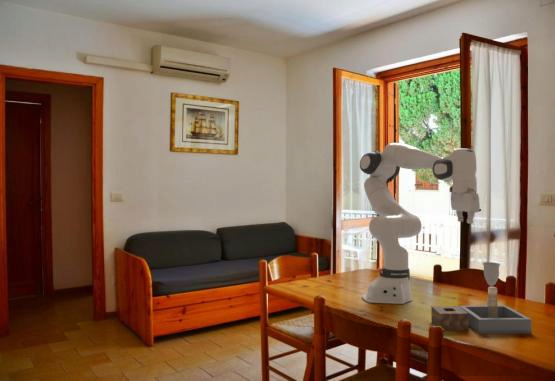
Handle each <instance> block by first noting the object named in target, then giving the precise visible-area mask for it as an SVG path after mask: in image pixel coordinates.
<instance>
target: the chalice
mask: <svg viewBox="0 0 555 381" xmlns="http://www.w3.org/2000/svg"><path fill="white" fill-rule="evenodd" d="M482 265H483V275H484V279H485V281H486V283H487V285H489V287H494V286H495V285H496V283H497V282H498V280H499V277H500V266H501V263H499V262H492V261H491V262H490V261H489V262H487V261H486V262H485V261H484V262H482ZM484 306H488V299H487V300H486V303H485V304H484ZM497 306H499V304H497Z"/></svg>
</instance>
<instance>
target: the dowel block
mask: <svg viewBox="0 0 555 381" xmlns="http://www.w3.org/2000/svg"><path fill="white" fill-rule="evenodd" d="M459 306H460V305H431V309H430V311H431V323H432V324H433V325H434V324H435V325H437V326H441V327H442V328H443V329H444V330H443V331H469V328H470V326H469V317H468V313H467V312H466V311H464V310H463V309H461V308H460V307H459ZM435 325H434V326H435Z"/></svg>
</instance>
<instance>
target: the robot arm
mask: <svg viewBox="0 0 555 381" xmlns="http://www.w3.org/2000/svg"><path fill="white" fill-rule="evenodd" d="M359 168H360V170H361V171H362V172H363V173H364V174H366V175H369V177H367V178H366V179H365V181H364V183H363V187H364V192H365V194H366V197H367V200H368V202H369V204H370V205H371V207H372V210H373V211H374V213H375V214H377V215H378V216H375V217H372V218H371V220H370V221H369V225H368V230H369V232H370V235H371V236H372V237H373V238H375V239H376V241H378V243H379V245H380V247H381V251H382V255H383V257H382V258H383V267H382V268H381V267H377V269H376V271H377V272H378V274H379V275H378V276H377V277H376V278H375V279H374V280H372V281H371V282H370V283H369V284H368V286H367V291H366V293H363V294H362V300H363V301H365V302H366V303H373V304H375V303H376V304H395V305H397V304H398V305H403V304H406V303H409V302H412V301H413V295H412V292H411V285H410V278H411V270H410V268H409V252H408V250H407V249H406V248H404V247H403V246H401V245H400V242H399V239H403V238H405V239H406V238H412V237H415V236H417V235H419V234H420V233H421V231H422V222H421V220H420V218H419V217H418V216H417V215H415V214H413V213H411V212H409V211H407V210H406V209H405V208H404V207H402V206H401V205H400V204H399V203H398V202H397V200H396V199H395V198H394V195H393V194H392V192H391V190H390V189H389V187H388V184H389V183H392V181H393V180H395V179H396V178H397V177H398V175H399V174H400V171H401V170H400V169H406V170H421V169H422V170H423V169H424V170H425V169H428V170H429V169H430V170H431V169H432V174H433V177H434V178H436V179H437V180H440V181H452V185H450V187H449V189H448V190H449V191H448V192H449V193H450V206H451V210H453V211H456V212H455V213H456V217H457V222H461V223H463V222H464V216H463V212H466V213H467V219H466V223H467V224H473V223H474V221H473V220H474V217H475V213H479V212H480V209H481V208H480V207H481V206H480V205H481V204H480V197H479V193H477V191H478V190H477V188H478V186H477V183H478V182H477V176H476V172H477V157H476V153H475V151H474V150H473V149H471V148H461V147H457V148H455V149H453V150H452V152H451V153H449V154H447V155H445V156H441V155H436V154H433V153H430V152H428V151H426V150H423V149H420V148H418V147H416V146H415V147H414V146H412V145H409V144H406V143H399V142H391V143H388V144H387V145H386V146H384V148H383V151H381V152H379V151H378V150H375V151H373V152H367V153H364V154H363V156H361V159H360V160H359Z"/></svg>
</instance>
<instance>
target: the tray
mask: <svg viewBox="0 0 555 381" xmlns="http://www.w3.org/2000/svg"><path fill="white" fill-rule="evenodd" d="M458 306H459V307H460V308H461V309H463V310H464V311H466V312H467V313H468V317H469V328H470V329H472V330H473V331H475V332H476V333H478V334H479V335H482V334H483V335H500V334H501V335H503V334H505V335H506V334H507V335H511V334H512V335H513V334H516V335H519V334H520V335H521V334H523V335H524V334H525V335H528V334H529V335H530V334H532V333H533V332H532V331H533V330H532V319H531V318H530V317H528V316H526V315H524V314H523V313H521V312H520V311H519V312H518V311H517V310H515V309H514V308H511V307H509V306H508V305H506V304H505V305H498V306H497V309H498V318H489V310H488V306H486V305H458Z"/></svg>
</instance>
